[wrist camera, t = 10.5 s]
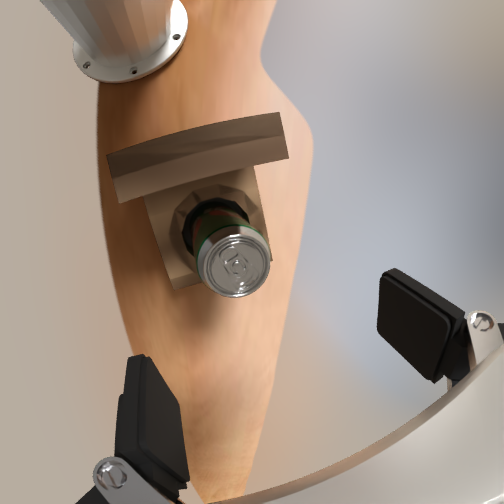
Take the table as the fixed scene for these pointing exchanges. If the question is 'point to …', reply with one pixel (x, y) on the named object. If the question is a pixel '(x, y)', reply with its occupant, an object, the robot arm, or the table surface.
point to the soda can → (228, 251)
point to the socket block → (197, 180)
